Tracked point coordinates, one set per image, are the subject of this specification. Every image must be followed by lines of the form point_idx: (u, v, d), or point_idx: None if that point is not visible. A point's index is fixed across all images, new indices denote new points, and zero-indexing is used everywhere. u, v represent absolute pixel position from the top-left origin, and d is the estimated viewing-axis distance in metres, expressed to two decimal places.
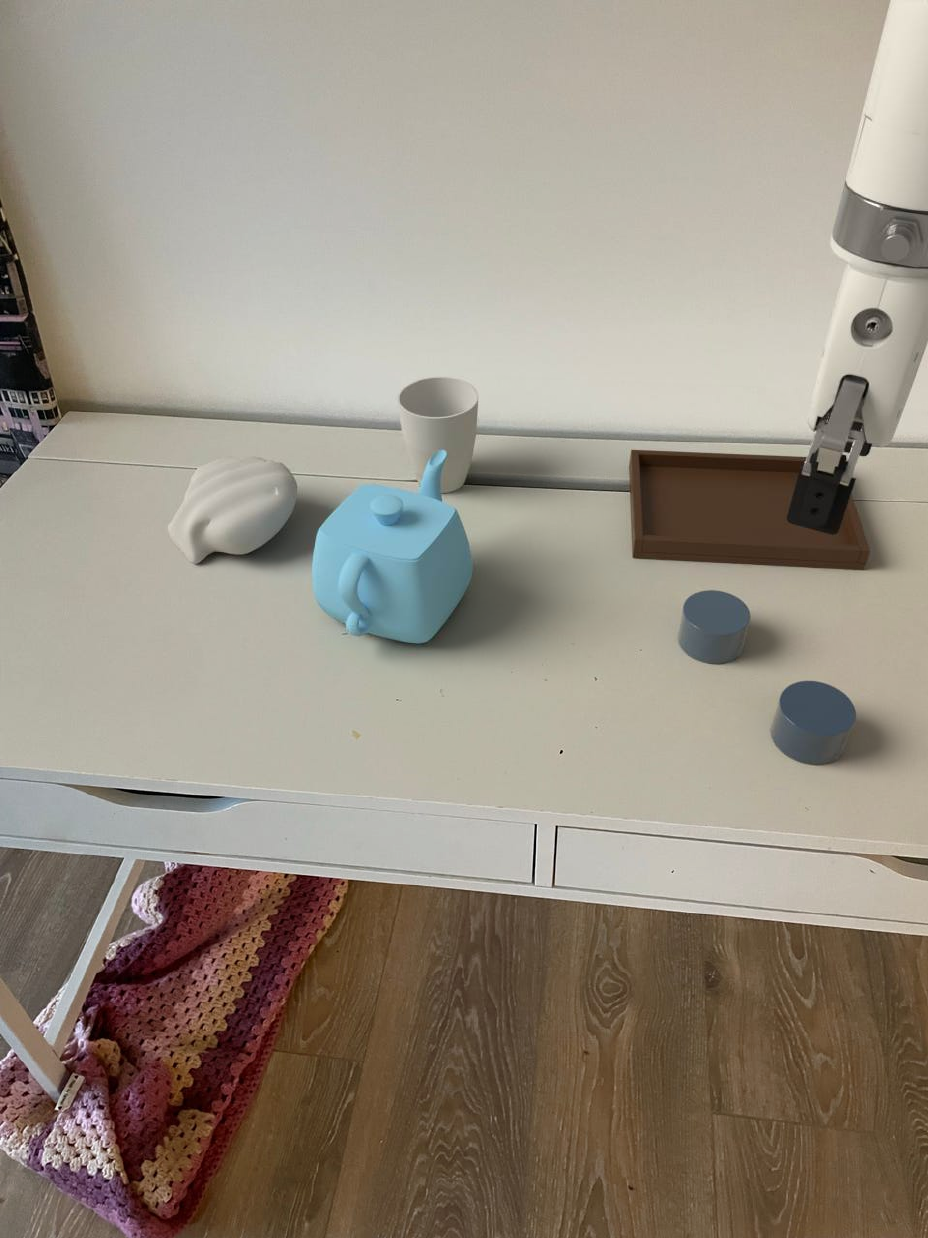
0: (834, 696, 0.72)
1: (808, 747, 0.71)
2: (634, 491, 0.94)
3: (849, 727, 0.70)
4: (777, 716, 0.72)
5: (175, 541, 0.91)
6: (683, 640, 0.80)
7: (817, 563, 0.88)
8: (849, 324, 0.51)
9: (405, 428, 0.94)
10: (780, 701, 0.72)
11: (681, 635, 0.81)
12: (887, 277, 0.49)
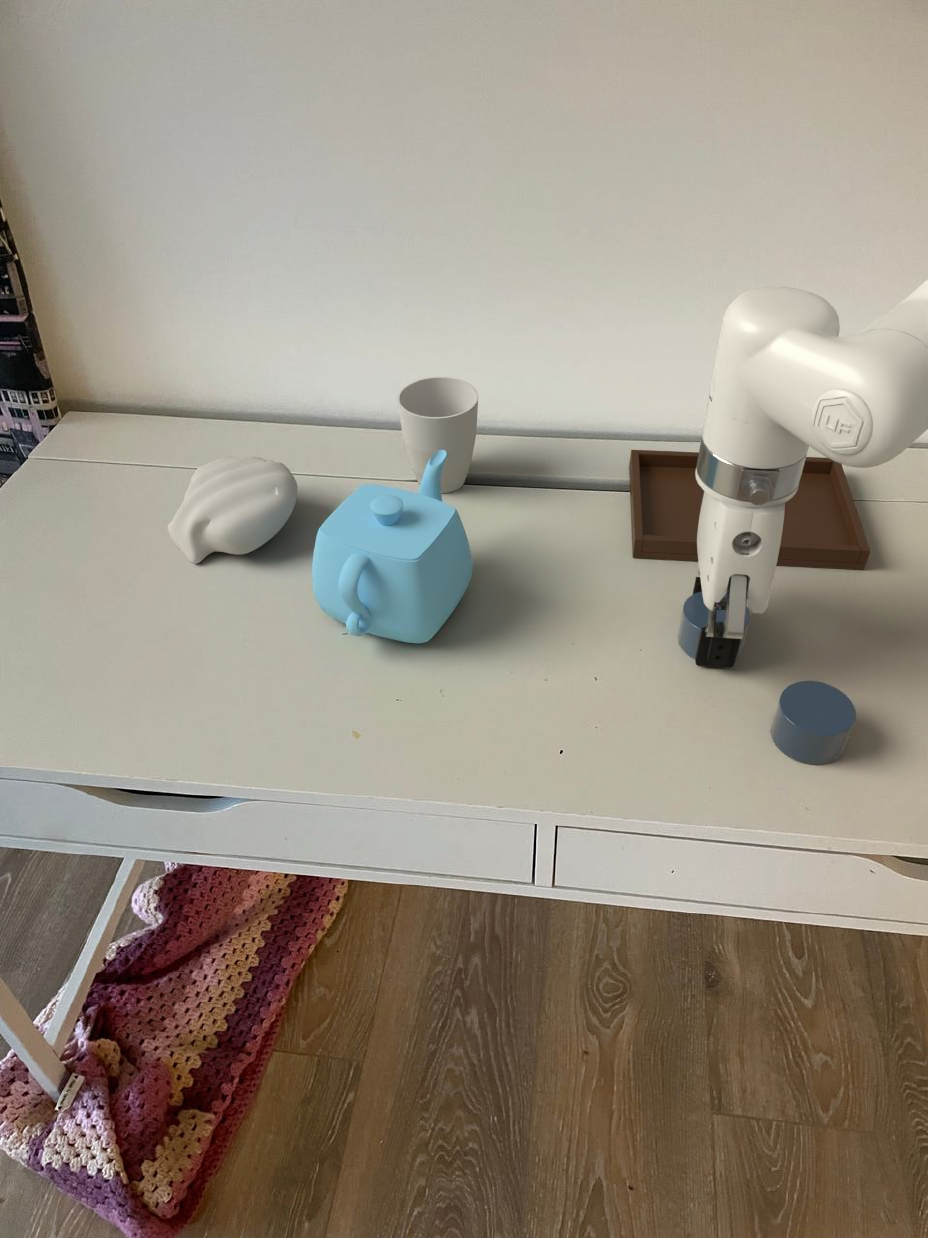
0: (834, 696, 0.72)
1: (808, 747, 0.71)
2: (634, 491, 0.94)
3: (849, 727, 0.70)
4: (777, 716, 0.72)
5: (175, 541, 0.91)
6: (683, 640, 0.80)
7: (817, 563, 0.88)
8: (731, 543, 0.69)
9: (405, 428, 0.94)
10: (780, 701, 0.72)
11: (681, 635, 0.81)
12: (752, 510, 0.67)
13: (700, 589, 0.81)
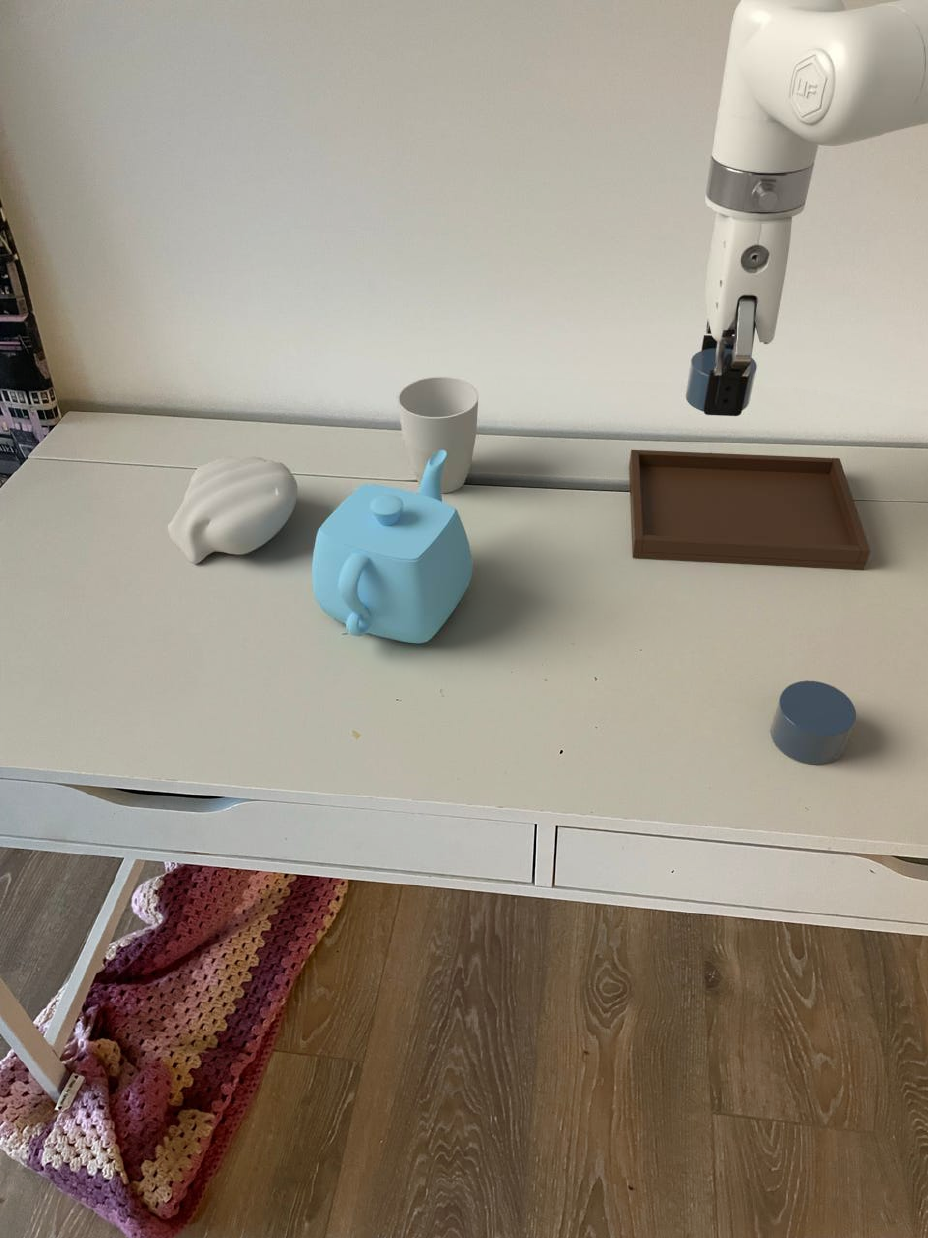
0: (834, 696, 0.72)
1: (808, 747, 0.71)
2: (634, 491, 0.94)
3: (849, 727, 0.70)
4: (777, 716, 0.72)
5: (175, 541, 0.91)
6: (691, 393, 0.83)
7: (817, 563, 0.88)
8: (739, 259, 0.71)
9: (405, 428, 0.94)
10: (780, 701, 0.72)
11: (689, 389, 0.83)
12: (760, 222, 0.70)
13: (708, 347, 0.84)
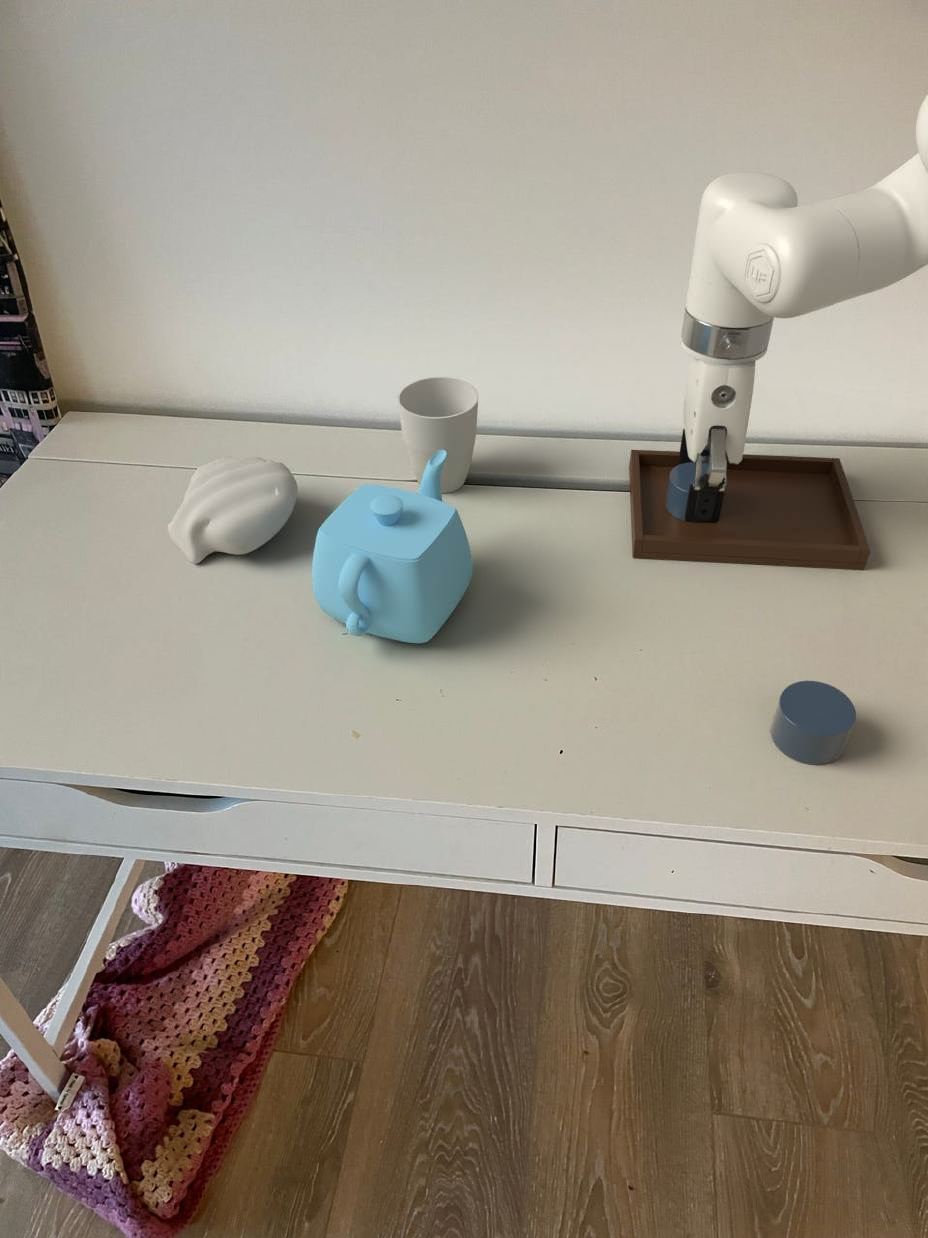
0: (834, 696, 0.72)
1: (808, 747, 0.71)
2: (634, 491, 0.94)
3: (849, 727, 0.70)
4: (777, 716, 0.72)
5: (175, 541, 0.91)
6: (670, 503, 0.94)
7: (817, 563, 0.88)
8: (710, 396, 0.81)
9: (405, 428, 0.94)
10: (780, 701, 0.72)
11: (668, 499, 0.94)
12: (727, 366, 0.80)
13: None
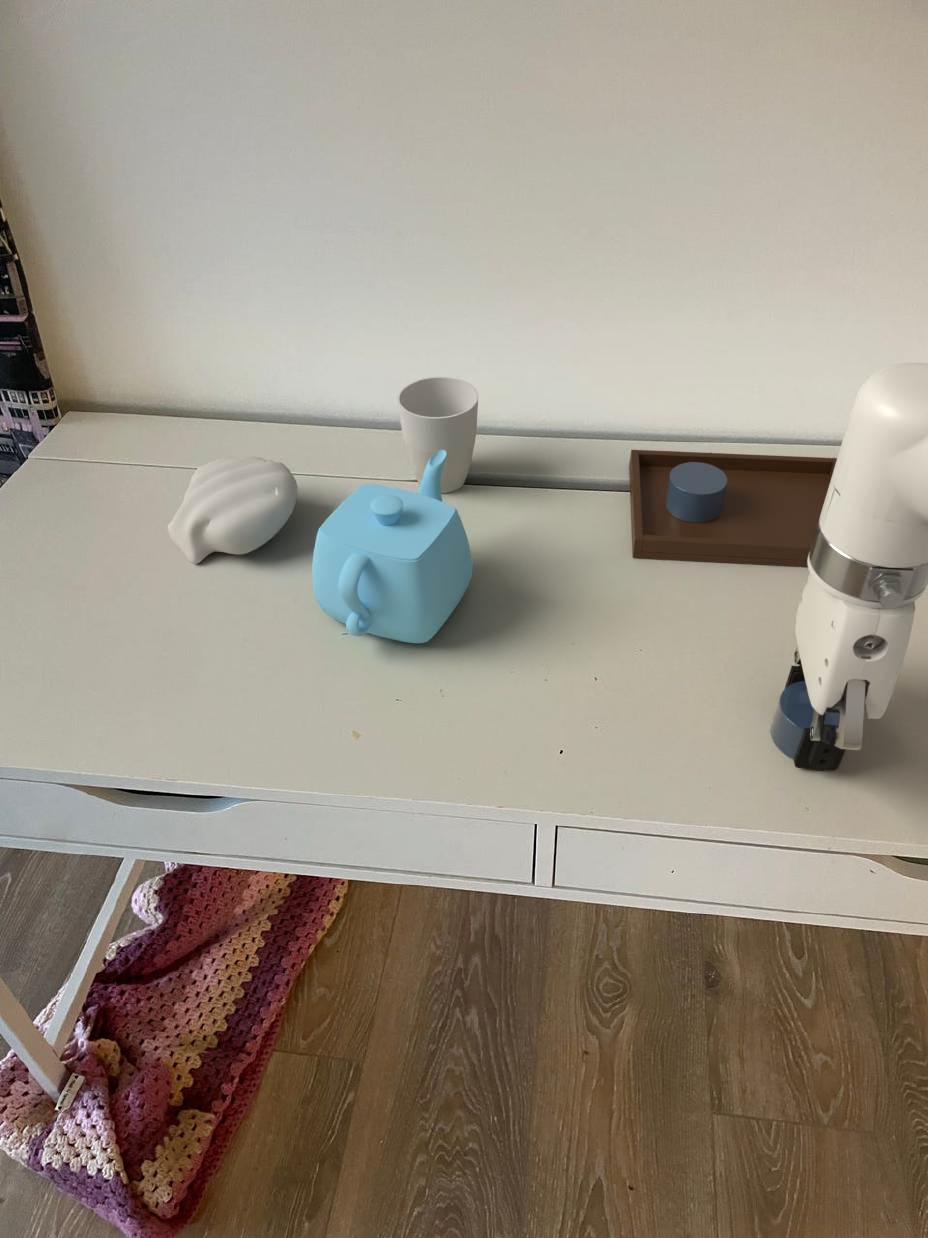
0: None
1: None
2: (634, 491, 0.94)
3: None
4: (777, 716, 0.72)
5: (175, 541, 0.91)
6: (670, 503, 0.94)
7: None
8: (851, 646, 0.61)
9: (405, 428, 0.94)
10: (780, 701, 0.72)
11: (668, 499, 0.94)
12: (879, 612, 0.59)
13: (796, 679, 0.73)
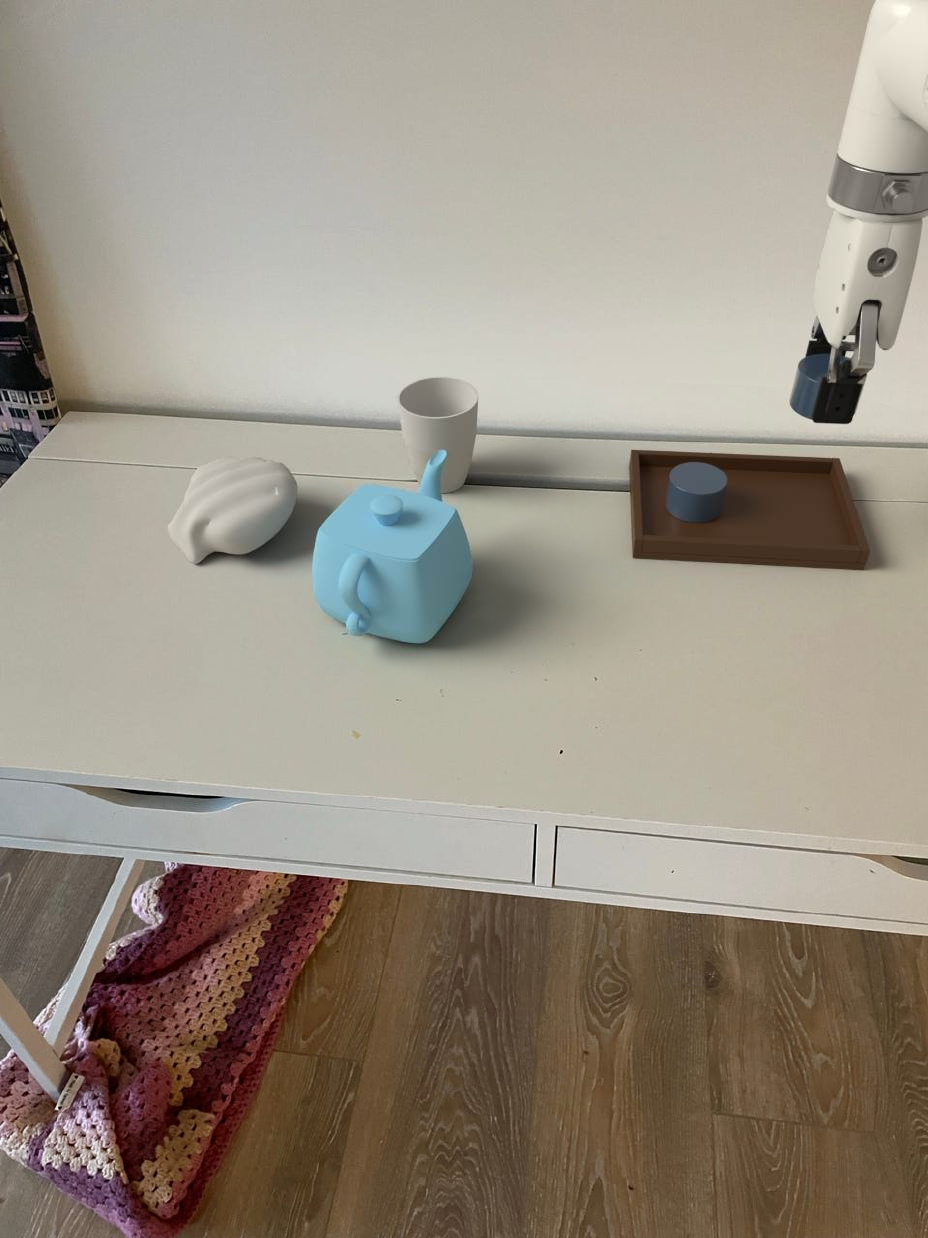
0: None
1: None
2: (634, 491, 0.94)
3: None
4: (796, 381, 0.80)
5: (175, 541, 0.91)
6: (670, 503, 0.94)
7: (817, 563, 0.88)
8: (866, 262, 0.68)
9: (405, 428, 0.94)
10: (798, 365, 0.80)
11: (668, 499, 0.94)
12: (890, 224, 0.67)
13: (813, 353, 0.81)
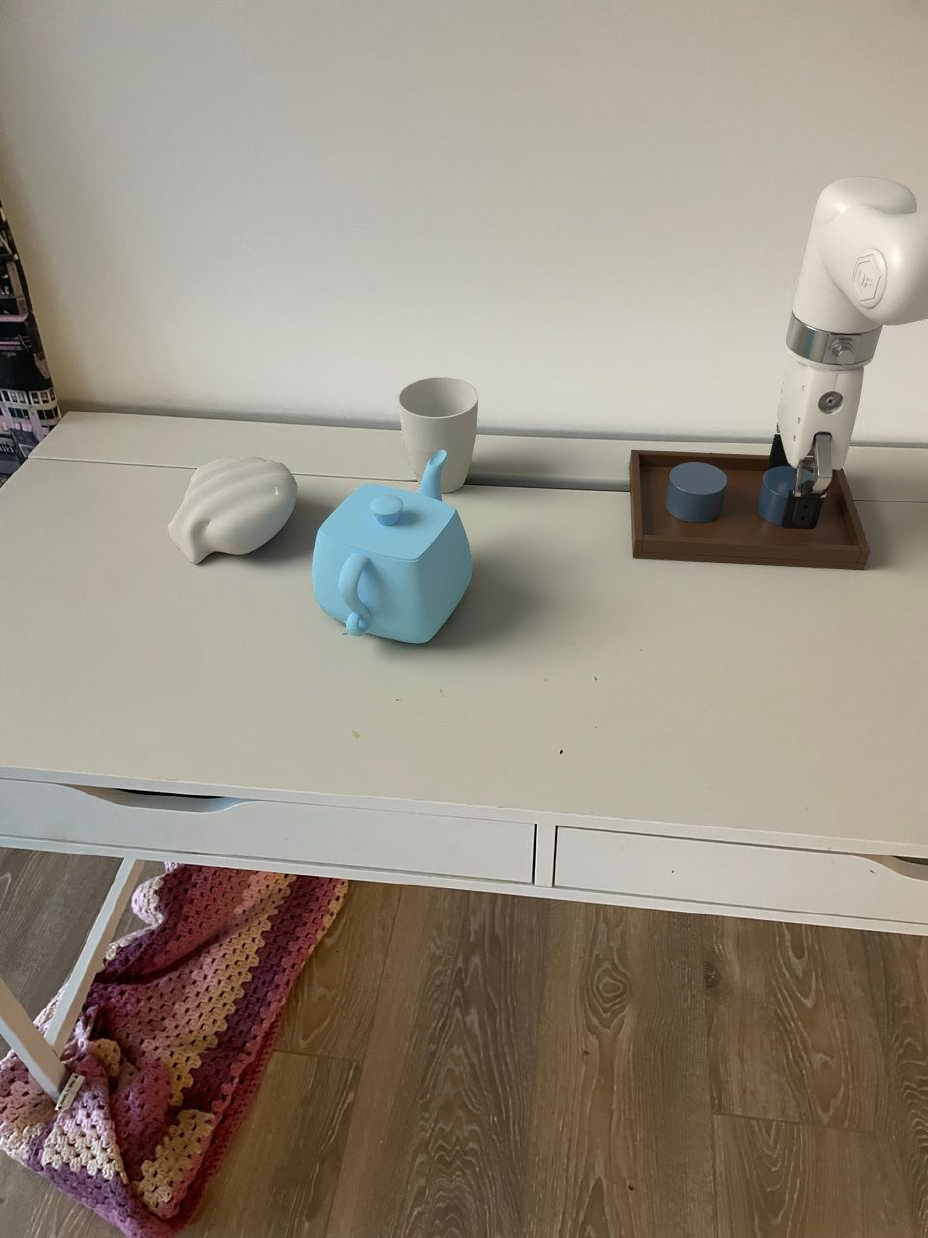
0: (805, 475, 0.92)
1: None
2: (634, 491, 0.94)
3: None
4: (761, 491, 0.93)
5: (175, 541, 0.91)
6: (670, 503, 0.94)
7: (817, 563, 0.88)
8: (817, 402, 0.81)
9: (405, 428, 0.94)
10: (763, 478, 0.92)
11: (668, 499, 0.94)
12: (836, 372, 0.79)
13: (778, 445, 0.94)
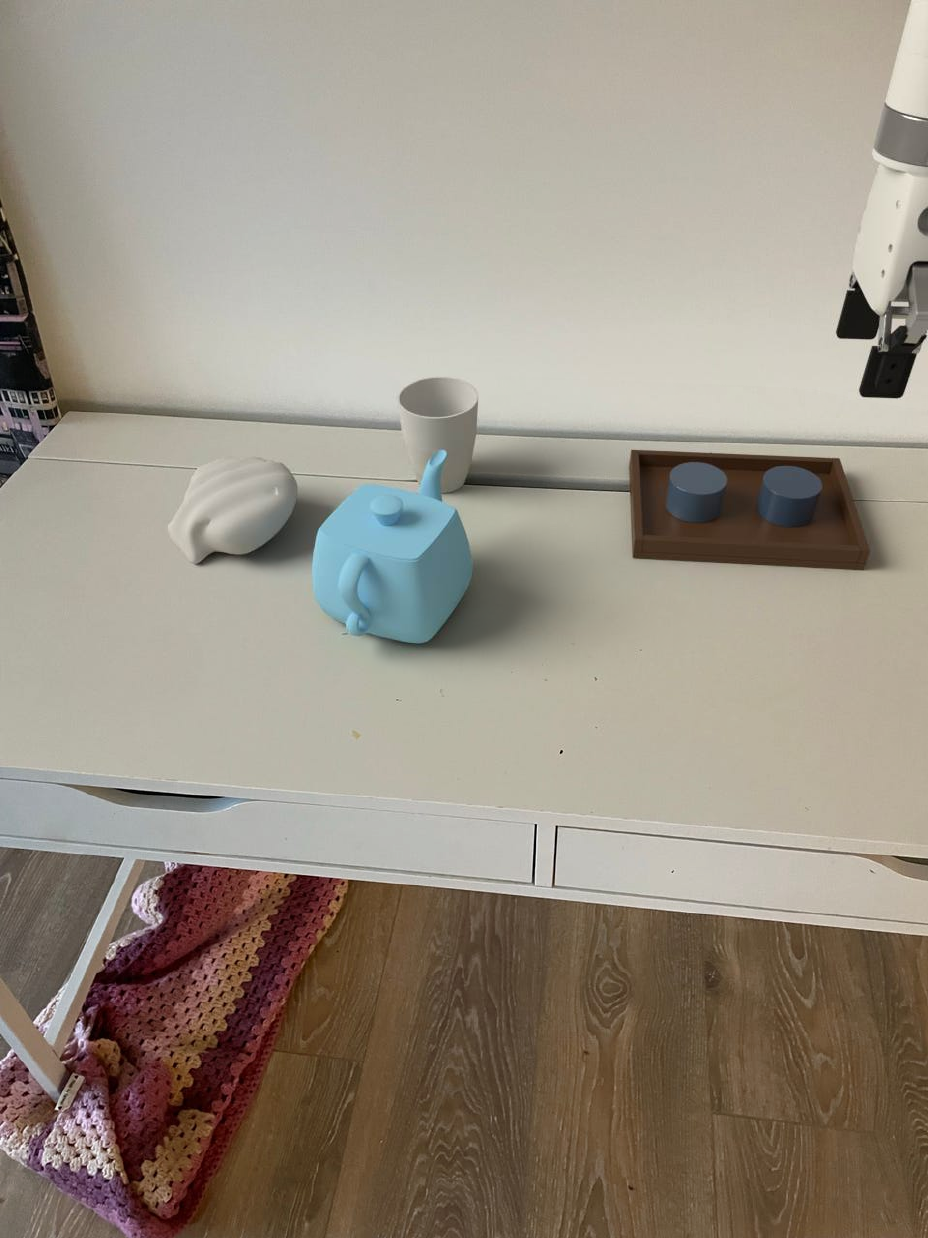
0: (805, 475, 0.92)
1: (784, 511, 0.91)
2: (634, 491, 0.94)
3: (816, 493, 0.90)
4: (761, 491, 0.93)
5: (175, 541, 0.91)
6: (670, 503, 0.94)
7: (817, 563, 0.88)
8: (916, 220, 0.64)
9: (405, 428, 0.94)
10: (763, 478, 0.92)
11: (668, 499, 0.94)
12: None
13: (851, 303, 0.77)
